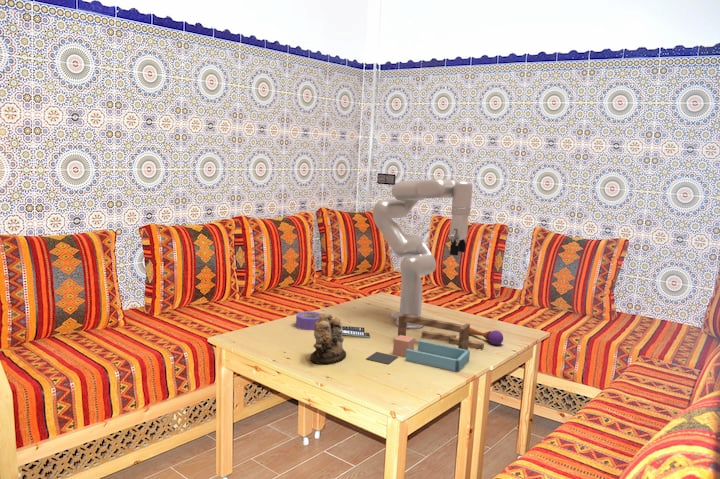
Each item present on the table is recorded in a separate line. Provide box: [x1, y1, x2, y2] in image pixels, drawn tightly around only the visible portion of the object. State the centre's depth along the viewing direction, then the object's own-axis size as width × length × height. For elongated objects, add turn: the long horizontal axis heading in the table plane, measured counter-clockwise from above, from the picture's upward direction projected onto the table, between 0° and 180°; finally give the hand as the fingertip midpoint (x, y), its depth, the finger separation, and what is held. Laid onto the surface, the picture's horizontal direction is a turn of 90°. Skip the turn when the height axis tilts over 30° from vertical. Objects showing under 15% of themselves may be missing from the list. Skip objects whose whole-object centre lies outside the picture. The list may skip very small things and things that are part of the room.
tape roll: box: [295, 311, 322, 331], centre depth 249 cm, size 12×12×5 cm
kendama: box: [469, 327, 504, 346], centre depth 242 cm, size 6×6×20 cm
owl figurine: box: [309, 312, 347, 366], centre depth 210 cm, size 18×12×17 cm, turn 157°
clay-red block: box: [392, 335, 415, 358], centre depth 220 cm, size 6×6×6 cm
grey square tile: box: [365, 351, 399, 365], centre depth 214 cm, size 9×9×1 cm
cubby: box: [405, 339, 471, 373], centre depth 214 cm, size 20×13×4 cm, turn 63°
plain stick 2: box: [448, 336, 485, 351], centre depth 233 cm, size 14×2×2 cm, turn 61°
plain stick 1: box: [421, 330, 457, 342], centre depth 240 cm, size 14×2×2 cm, turn 75°
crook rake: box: [397, 313, 471, 350], centre depth 230 cm, size 28×8×10 cm, turn 63°
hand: (457, 253), depth 236 cm, fingers open, 9 cm apart
